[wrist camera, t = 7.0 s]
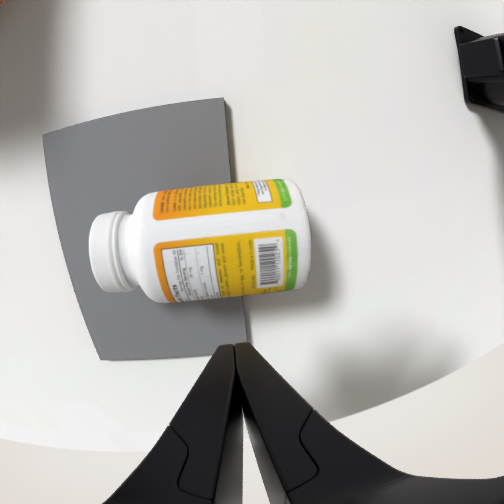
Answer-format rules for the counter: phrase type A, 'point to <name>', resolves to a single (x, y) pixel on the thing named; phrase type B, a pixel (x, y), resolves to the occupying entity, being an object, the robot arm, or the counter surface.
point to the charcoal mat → (125, 199)
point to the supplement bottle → (206, 242)
